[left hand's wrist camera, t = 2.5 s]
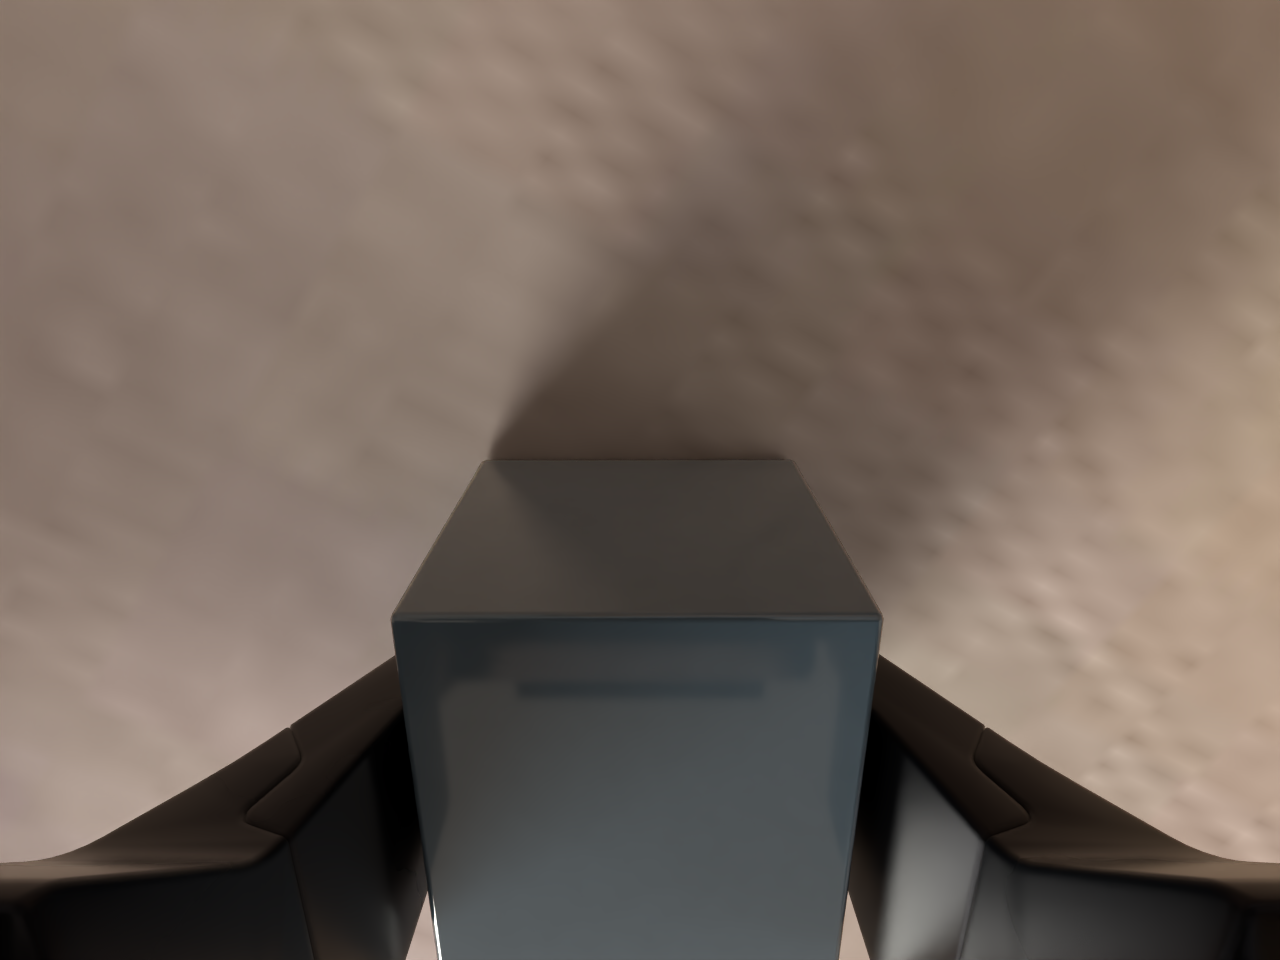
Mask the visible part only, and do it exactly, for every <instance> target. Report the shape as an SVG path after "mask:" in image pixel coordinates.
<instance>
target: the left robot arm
mask: <svg viewBox="0 0 1280 960" xmlns="http://www.w3.org/2000/svg"><path fill="white" fill-rule="evenodd" d="M427 891H428V888H427V881H426V874H425V867H424V859H423V852H422V845H421V837H420V830H419V823H418V816H417V808H416V801H415V794H414V786H413V779H412V772H411V765H410V757H409V750H408V743H407V735H406V728H405V721H404V713H403V706H402V699H401V692H400V684H399V677H398V670H397V662H396V655H395V656H393V657H392V658H390V659H389V660H387V661H386V662H384V663H383V664H381V665H380V666H378V667H377V668H375V669H374V670H372V671H371V672H369V673H368V674H366V675H365V676H364V677H362V678H361V679H359V680H358V681H356V682H355V683H353V684H352V685H350V686H349V687H347V688H346V689H344V690H343V691H341V692H340V693H338V694H337V695H335V696H334V697H332V698H331V699H329V700H328V701H326V702H325V703H323V704H322V705H320V706H319V707H317V708H316V709H314V710H313V711H311V712H310V713H308V714H307V715H305V716H304V717H302V718H301V719H299V720H298V721H296V722H295V723H293V724H292V725H291V726H290V728H285V729H284V730H282V731H281V732H279V733H278V734H276V735H275V736H273V737H272V738H270V739H269V740H267V741H266V742H264V743H263V744H261V745H260V746H258V747H257V748H255V749H253V750H252V751H250V752H249V753H247V754H246V755H244V756H242V757H241V758H239V759H238V760H236V761H235V762H233V763H231V764H230V765H228V766H226V767H225V768H223V769H221V770H219V771H218V772H216V773H214V774H213V775H211V776H209V777H207V778H206V779H204V780H202V781H201V782H199V783H197V784H195V785H194V786H192V787H190V788H188V789H187V790H185V791H183V792H181V793H180V794H178V795H176V796H174V797H172V798H171V799H169V800H167V801H165V802H164V803H162V804H160V805H158V806H157V807H155V808H153V809H151V810H150V811H148V812H146V813H144V814H142V815H141V816H139V817H137V818H135V819H134V820H132V821H130V822H128V823H127V824H125V825H123V826H121V827H120V828H118V829H116V830H114V831H112V832H111V833H109V834H107V835H105V836H104V837H102V838H100V839H98V840H96V841H94V842H92V843H90V844H88V845H86V846H84V847H81V848H79V849H76V850H74V851H71V852H69V853H65V854H62V855H59V856H55V857H52V858H47V859H42V860H37V861H27V862H9V863H0V960H406V956H407V953H408V950H409V947H410V944H411V941H412V938H413V935H414V932H415V928H416V925H417V922H418V919H419V916H420V913H421V910H422V907H423V904H424V900H425V897H426V894H427ZM848 892H849V895H850V898H851V901H852V904H853V908H854V911H855V914H856V917H857V920H858V923H859V926H860V930H861V933H862V936H863V939H864V942H865V945H866V949H867V952H868V955H869V958H870V960H1280V863H1263V862H1246V861H1236V860H1231V859H1226V858H1221V857H1218V856H1215V855H1211V854H1208V853H1205V852H1202V851H1200V850H1197V849H1195V848H1192V847H1190V846H1188V845H1185V844H1183V843H1182V842H1180V841H1178V840H1176V839H1174V838H1172V837H1170V836H1168V835H1167V834H1165V833H1163V832H1161V831H1160V830H1158V829H1156V828H1154V827H1153V826H1151V825H1149V824H1147V823H1146V822H1144V821H1142V820H1140V819H1139V818H1137V817H1135V816H1133V815H1132V814H1130V813H1128V812H1126V811H1125V810H1123V809H1121V808H1119V807H1118V806H1116V805H1114V804H1112V803H1111V802H1109V801H1107V800H1105V799H1103V798H1102V797H1100V796H1098V795H1096V794H1095V793H1093V792H1091V791H1089V790H1088V789H1086V788H1084V787H1082V786H1081V785H1079V784H1077V783H1076V782H1074V781H1072V780H1070V779H1069V778H1067V777H1065V776H1064V775H1062V774H1060V773H1059V772H1057V771H1055V770H1054V769H1052V768H1050V767H1048V766H1047V765H1045V764H1043V763H1042V762H1040V761H1039V760H1037V759H1035V758H1034V757H1032V756H1031V755H1029V754H1028V753H1026V752H1025V751H1023V750H1021V749H1020V748H1018V747H1017V746H1015V745H1014V744H1012V743H1011V742H1009V741H1008V740H1006V739H1005V738H1003V737H1002V736H1000V735H999V734H997V733H996V732H994V731H993V730H991V729H990V728H985V726H984V725H983V724H982V723H981V722H979V721H978V720H976V719H975V718H973V717H972V716H970V715H969V714H967V713H966V712H964V711H963V710H961V709H960V708H958V707H957V706H955V705H954V704H952V703H951V702H949V701H948V700H946V699H945V698H943V697H942V696H940V695H939V694H938V693H936V692H935V691H933V690H932V689H930V688H929V687H927V686H926V685H924V684H923V683H921V682H920V681H918V680H917V679H915V678H914V677H912V676H911V675H909V674H908V673H906V672H905V671H903V670H902V669H900V668H899V667H897V666H896V665H894V664H893V663H892V662H890V661H889V660H887V659H886V658H884V657H883V656H881V655H880V654H879V657H878V665H877V672H876V680H875V688H874V695H873V703H872V711H871V718H870V726H869V734H868V741H867V749H866V756H865V764H864V772H863V779H862V787H861V795H860V802H859V810H858V818H857V825H856V833H855V840H854V848H853V856H852V863H851V871H850V879H849V886H848Z"/></svg>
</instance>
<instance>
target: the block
mask: <svg viewBox="0 0 1280 960" xmlns="http://www.w3.org/2000/svg"><path fill="white" fill-rule="evenodd" d="M391 626H392V633H393V641H394V648H395V655H396V662H397V670H398V677H399V684H400V692H401V699H402V706H403V713H404V721H405V728H406V735H407V743H408V750H409V757H410V765H411V772H412V779H413V786H414V794H415V801H416V808H417V816H418V823H419V830H420V837H421V845H422V852H423V859H424V867H425V874H426V881H427V888H428V896H429V903H430V910H431V918H432V925H433V932H434V939H435V947H436V954H437V960H839V955H840V947H841V940H842V932H843V924H844V917H845V909H846V902H847V894H848V886H849V879H850V871H851V863H852V856H853V848H854V840H855V833H856V825H857V818H858V810H859V802H860V795H861V787H862V779H863V772H864V764H865V756H866V749H867V741H868V734H869V726H870V718H871V711H872V703H873V695H874V688H875V680H876V672H877V665H878V657H879V650H880V642H881V634H882V627H883V616H882V613H881V611H880V609H879V608H878V606H877V604H876V602H875V601H874V599H873V597H872V595H871V594H870V592H869V590H868V588H867V587H866V585H865V583H864V582H863V580H862V578H861V576H860V575H859V573H858V571H857V569H856V568H855V566H854V564H853V562H852V561H851V559H850V557H849V555H848V554H847V552H846V550H845V549H844V547H843V545H842V543H841V542H840V540H839V538H838V536H837V535H836V533H835V531H834V529H833V528H832V526H831V524H830V522H829V521H828V519H827V517H826V516H825V514H824V512H823V510H822V509H821V507H820V505H819V503H818V502H817V500H816V498H815V496H814V495H813V493H812V491H811V489H810V488H809V486H808V484H807V482H806V481H805V479H804V477H803V476H802V474H801V472H800V470H799V469H798V467H797V465H796V463H795V462H794V461H792V460H485V461H483V462H482V463H481V464H480V466H479V468H478V469H477V471H476V473H475V474H474V476H473V478H472V480H471V481H470V483H469V485H468V486H467V488H466V490H465V491H464V493H463V495H462V497H461V498H460V500H459V502H458V503H457V505H456V507H455V508H454V510H453V512H452V513H451V515H450V517H449V519H448V520H447V522H446V524H445V525H444V527H443V529H442V530H441V532H440V534H439V535H438V537H437V539H436V541H435V542H434V544H433V546H432V547H431V549H430V551H429V552H428V554H427V556H426V557H425V559H424V561H423V563H422V564H421V566H420V568H419V569H418V571H417V573H416V574H415V576H414V578H413V579H412V581H411V583H410V585H409V586H408V588H407V590H406V591H405V593H404V595H403V596H402V598H401V600H400V602H399V603H398V605H397V607H396V608H395V610H394V612H393V613H392V616H391Z"/></svg>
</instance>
